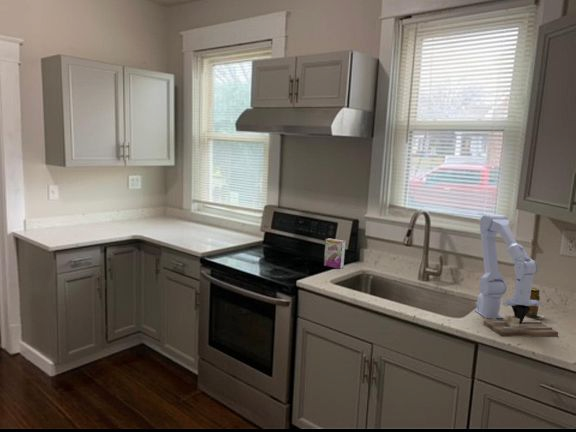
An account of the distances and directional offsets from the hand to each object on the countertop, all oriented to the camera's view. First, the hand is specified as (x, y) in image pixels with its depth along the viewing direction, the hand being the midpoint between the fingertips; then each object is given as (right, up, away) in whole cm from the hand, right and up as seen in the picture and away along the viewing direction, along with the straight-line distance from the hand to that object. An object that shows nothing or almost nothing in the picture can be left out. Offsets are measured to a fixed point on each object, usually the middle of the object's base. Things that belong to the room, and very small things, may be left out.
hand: (518, 322), depth 175 cm
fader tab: (-3, -1, 0) cm, 3 cm away
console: (+1, -3, 0) cm, 3 cm away
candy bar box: (-65, +12, +85) cm, 108 cm away
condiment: (+15, -2, +19) cm, 24 cm away
